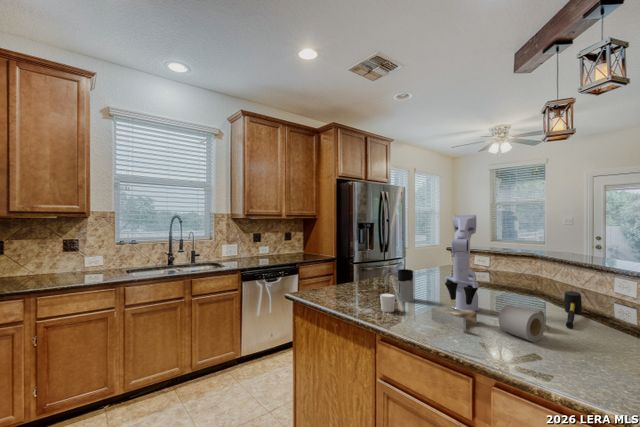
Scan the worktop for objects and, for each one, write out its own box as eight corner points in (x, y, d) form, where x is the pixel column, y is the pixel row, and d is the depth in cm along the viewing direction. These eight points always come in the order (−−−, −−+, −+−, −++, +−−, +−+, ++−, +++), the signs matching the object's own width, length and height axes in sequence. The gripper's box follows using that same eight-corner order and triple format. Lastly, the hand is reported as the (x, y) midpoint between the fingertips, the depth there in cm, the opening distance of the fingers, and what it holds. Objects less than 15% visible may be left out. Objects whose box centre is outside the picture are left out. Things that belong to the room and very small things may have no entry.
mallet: (580, 331, 116) (579, 306, 116) (559, 327, 120) (559, 303, 120) (582, 313, 138) (581, 291, 138) (564, 310, 142) (564, 289, 142)
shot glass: (395, 313, 137) (395, 297, 137) (380, 312, 139) (379, 296, 139) (395, 308, 144) (395, 293, 144) (380, 307, 145) (380, 292, 146)
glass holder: (416, 301, 155) (416, 272, 155) (388, 301, 155) (388, 272, 155) (411, 297, 164) (411, 269, 164) (384, 297, 164) (384, 269, 164)
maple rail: (470, 320, 128) (470, 309, 128) (476, 323, 125) (476, 312, 125) (445, 323, 125) (445, 312, 125) (451, 326, 122) (451, 315, 122)
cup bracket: (473, 330, 116) (473, 317, 116) (463, 332, 114) (463, 319, 114) (440, 317, 131) (440, 306, 131) (431, 319, 129) (431, 307, 129)
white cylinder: (539, 331, 116) (539, 310, 116) (514, 325, 122) (515, 305, 122) (547, 325, 122) (547, 306, 123) (524, 320, 129) (524, 301, 129)
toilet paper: (498, 333, 114) (498, 306, 114) (516, 329, 118) (516, 303, 118) (526, 344, 104) (526, 314, 104) (544, 339, 108) (544, 311, 108)
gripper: (439, 266, 130) (439, 298, 130) (469, 272, 117) (469, 308, 117) (451, 265, 133) (451, 296, 133) (481, 270, 120) (482, 305, 120)
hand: (460, 301), depth 125 cm, fingers open, 7 cm apart
